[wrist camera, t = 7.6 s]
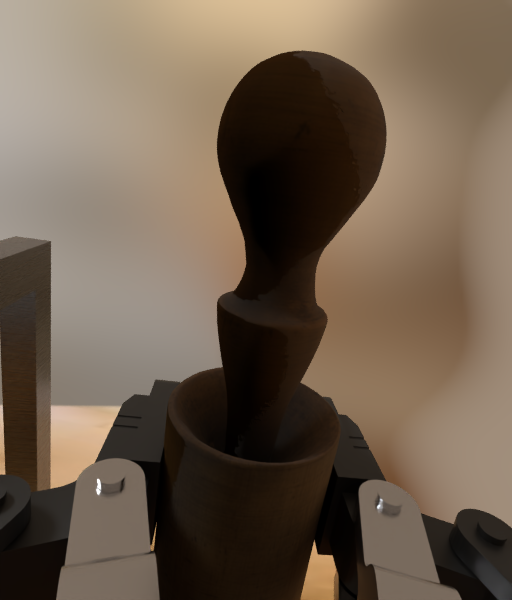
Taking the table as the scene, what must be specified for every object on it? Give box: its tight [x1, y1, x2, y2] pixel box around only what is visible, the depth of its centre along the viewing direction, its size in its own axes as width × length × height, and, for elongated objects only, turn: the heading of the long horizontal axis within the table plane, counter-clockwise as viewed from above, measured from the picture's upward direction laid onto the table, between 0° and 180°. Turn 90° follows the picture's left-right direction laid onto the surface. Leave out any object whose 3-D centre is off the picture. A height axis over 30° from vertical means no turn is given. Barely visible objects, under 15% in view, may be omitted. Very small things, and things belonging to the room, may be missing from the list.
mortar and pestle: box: [154, 51, 386, 600], centre depth 9 cm, size 7×6×18 cm
